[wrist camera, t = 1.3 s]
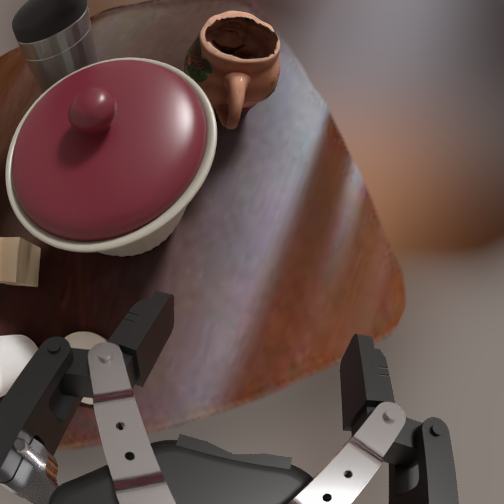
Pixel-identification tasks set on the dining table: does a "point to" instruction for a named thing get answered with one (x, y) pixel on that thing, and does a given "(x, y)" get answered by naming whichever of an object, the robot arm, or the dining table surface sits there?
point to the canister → (111, 157)
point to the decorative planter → (234, 64)
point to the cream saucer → (85, 346)
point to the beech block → (19, 262)
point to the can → (14, 358)
